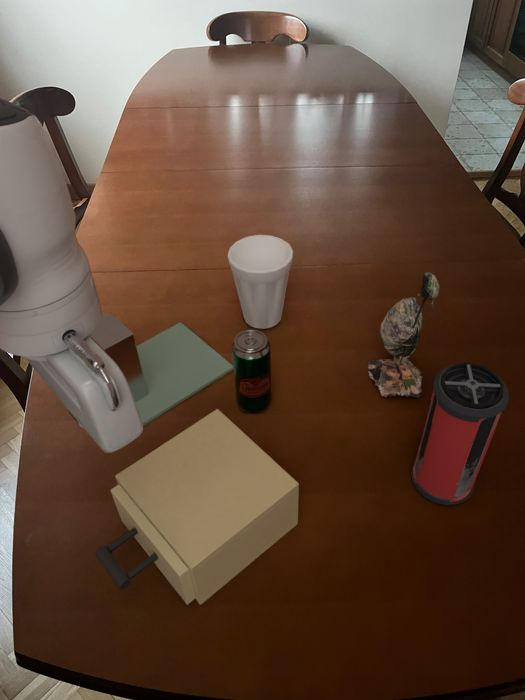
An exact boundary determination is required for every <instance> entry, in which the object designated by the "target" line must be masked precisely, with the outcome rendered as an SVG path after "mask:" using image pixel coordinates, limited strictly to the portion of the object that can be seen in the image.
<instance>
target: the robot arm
mask: <svg viewBox="0 0 525 700" xmlns="http://www.w3.org/2000/svg"><path fill="white" fill-rule="evenodd" d="M75 211H76V210H75V208H74V204H73V201H72V197H71V193H70V190H69V187H68V185H67V181H66V178H65V174H64V172H63V170H62V167H61V164H60V162H59V159H58V156H57V154H56V151H55V148H54V146H53V144H52V142H51V140H50V138H49V136H48V134H47V132H46V130H45V128H44V127H43V125H42V123H41V122H40V120H39V119H38V118H37V116H36V115H35V114H33V113H31V112H30V111H29V110H28V109H26V108H25V107H23V106H20V105H18V104H17V103H14V102H12V101H9V100H5V99H4V98H0V350H1V351H3V352H5V353H7V354H11V355H13V356H17V357H22V358H24V359H25V360H26V361H27V362H28V363H29V364H30V366H31V367H32V368H33V369H34V371H35V372H36V373H37V374H38V376H39V377H40V378H41V379H42V381H44V382H45V384H46V385H47V386H48V387H49V388H50V390H51V391H52V392H53V393H54V394H55V396H56V397H57V398H58V399H59V401H60V402H61V403H62V404H63V405H64V408H65V410H66V411H67V413H68V414H69V415H70V416H71V417H72V418H73V420H75V422H76V423H77V424H78V425H79V427H80V428H82V429H83V430H85V431H86V433H87V434H88V435H89V437H91V439H92V440H93V441H94V442H95V443H96V444H97V446H98V447H99V448H100V449H101V450H102V451H103V452H104V453H106V454H111V453H114V452H117V451H119V450H120V449H123V448H124V447H126V446H127V445H129V444H131V443H132V442H134V440H137V438H139V437H140V436H141V435H142V433H143V431H144V426H143V424H142V421H141V417H140V414H139V411H138V408H137V406H136V403H135V400H134V397H133V394H132V392H131V389H130V387H129V384H128V382H127V380H126V378H125V376H124V374H123V373H122V371H121V370H120V368H119V367H118V365H117V364H116V363H115V362H114V361H113V360H112V359H111V358H110V357H109V356H108V355H107V354H106V353H105V352H104V351H103V350H102V349H101V348H100V347H99V346H98V345H97V343H96V342H95V341H94V340H93V339H92V338H91V337H90V334H91V333H92V332H93V331H94V329H95V328H96V327H97V325H98V323H99V321H100V318H101V317H102V312H103V311H102V309H103V308H102V305H101V304H102V303H101V301H100V298H99V293H98V289H97V287H96V283H95V280H94V276H93V273H92V269H91V265H90V262H89V258H88V256H87V254H86V251H85V250H84V248H83V247H82V246H81V244H80V243H79V241H78V238H77V235H76V224H77V223H76V222H77V221H76V212H75Z"/></svg>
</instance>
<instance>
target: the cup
mask: <svg viewBox="0 0 525 700" xmlns="http://www.w3.org/2000/svg"><path fill="white" fill-rule="evenodd" d="M293 257H294V250H293V248H292V246H291V244H290V243H289V242H288V241H285V240H284V239H282V238H281V237H278V236H275V235H271V234H255V235H248V236H245V237H243V238H240V239H238V240H236V241H235V242H234V243H233V244H232V245H231V246H230V247H229V249H228V252H227V261H228V264H229V268H230V269H231V274H232V276H233V277H232V278H233V281H234V284H235V288H236V292H237V297H238V299H239V305H240V308H241V312H242V316H243V319H244V321H245V323H246V324H248V326H249V327H251V328H254V329H261V330H262V329H270V328H273V327H274V326H276V325H278V324H279V323H280V321H281V320H282V317H283V316H282V315H283V309H284V304H285V298H286V292H287V287H288V283H289V282H288V281H289V275H290V271H291V269H292V263H293Z"/></svg>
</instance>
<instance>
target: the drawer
mask: <svg viewBox="0 0 525 700" xmlns="http://www.w3.org/2000/svg"><path fill="white" fill-rule="evenodd" d="M109 491H110V493H111V495H112V499H113V501H114V504H115V507H116V510H117V512H118V515H119V517H120V521H121V523H123V525H124V526H125V527H126V529H127V530H128V531H127V532H126V533H125V534H123V535H121V536H120V537H118V538H117V539H116V540H114V541H113V542H112V543H110V544H109V545H107V546H106V545H102V546H100V547H98V549H96V551H95V553H94V555H95V557H96V559H97V560H98V561H99V562H100V564H101V566H102V567H103V568H104V570H105V571H106V572H107V574H108V575H109V577H110V578H111V580H112V581H113V582H114V584H115V585H116V586H117V588H118V589H119V590H125V589H127V588H128V587H129V586H130V584H131V583H132V579H134V578H135V577H137V576H138V575H139V574H140V573H141V572H143V571H144V570H146V569H147V568H148V567H150V566H151V565H153V564H154V565H155V566H156V567H157V568H158V570H159V571H160V572H161V573H162V575H163V576H164V577H165V579H166V580H167V581H168V583H169V584H170V585H171V586H172V588H173V589H174V590H175V591H176V593H177V594H178V596H179V597H180V598H181V599H182V600H183V602H184V603H185V604H186V605H187V606H188V605H190V604H191V602H193V601H194V600H196V599H195V598H196V596H195V592H194V588H193V583H192V579H191V575H190V571H189V568H188V567H187V566H186V565H185V563H184V561H182V560H181V558H180V557H179V556H178V555H177V554H176V552H175V550H173V549H172V548H171V546H170V545H169V544H168V543H167V541H166V540H165V539H164V538H163V537H162V535H161V533H159V532H158V530H157V529H156V528H155V527H154V526H153V524H152V522H150V521H149V519H148V518H147V517H146V516H145V515H144V513H143V512H142V511H141V510H140V509H139V507H138V506H137V505H136V504H135V502H134V501H133V500H132V499H131V498H130V496H129V495H128V494H127V493H126V491H125V490H124V489H123V488H122V487H121V485H120V484H118V483H117V485H116V486H114V487H112V488H111V489H110V490H109ZM132 538H134V539H135V540H136V542H137V543H138V544H139V545H140V546H141V548H142V549H143V550H144V552H145V553H146V554H147V556H148V557H147V558H146V559H143V561H141V562H140V563H139V564H137V565H136V566H135V567H133V568H132V569H130V570H129V571H128V572H127V573H126V571H125V570H124V568H123V567H122V566H121V564H120V562H119V561H118V560H117V559H116V557H115V555H113V552H114V551H116V550H117V549H118V548H120V547H122V546H123V545H124V544H125V543H127V542H128V541H130V540H131V539H132Z"/></svg>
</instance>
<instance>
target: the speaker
mask: <svg viewBox="0 0 525 700" xmlns="http://www.w3.org/2000/svg"><path fill="white" fill-rule="evenodd" d="M432 387H433V390H432V395H431V398H430V402H429V403H430V404H429V407H428V412H427V415H426V419H425V423H424V427H423V431H422V435H421V439H420V443H419V446H418V450H417V452H416V457H415V459H414V461H413V464H412V467H411V471H410V472H411V474H410V477H411V481H412V483H413V486H414V487H415V489H416V490H417V491H418V493H419V494H421V495H422V496H423V497H424V498H426V499H427V500H429V501H431V502H434V503H436V504H440V505H444V506H445V505H446V506H453V505H458V504H460V503H463V502H465V501H466V500H468V499H469V498H470V497H471V495H472V494H473V492H474V489H475V486H476V482H477V477H478V475H479V472H480V470H481V467H482V465H483V462H484V459H485V456H486V454H487V452H488V449H489V446H490V443H491V441H492V439H493V437H494V434H495V431H496V428H497V426H498V423H499V420H500V418H501V415H502V413H504V412H505V410H506V408H507V406H508V403H509V400H510V398H509V397H510V393H509V389H508V387H507V384H506V383H505V382H504V380H503V379H502V378H501V377H500V376H499V375H498V374H496V373H495V372H494V371H492V370H491V369H489V368H488V367H486V366H483V365H480V364H477V363H473V362H461V363H453V364H450V365H446V366H445V367H443V368H441V369H440V370H439V371H438V372H437V373H436V375H435V377H434V380H433V383H432Z"/></svg>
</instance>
